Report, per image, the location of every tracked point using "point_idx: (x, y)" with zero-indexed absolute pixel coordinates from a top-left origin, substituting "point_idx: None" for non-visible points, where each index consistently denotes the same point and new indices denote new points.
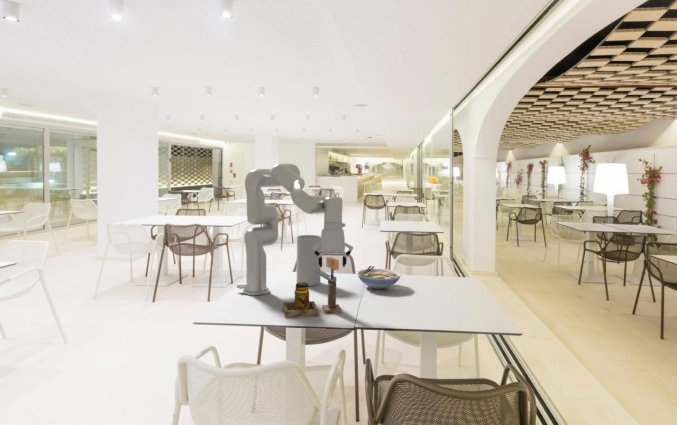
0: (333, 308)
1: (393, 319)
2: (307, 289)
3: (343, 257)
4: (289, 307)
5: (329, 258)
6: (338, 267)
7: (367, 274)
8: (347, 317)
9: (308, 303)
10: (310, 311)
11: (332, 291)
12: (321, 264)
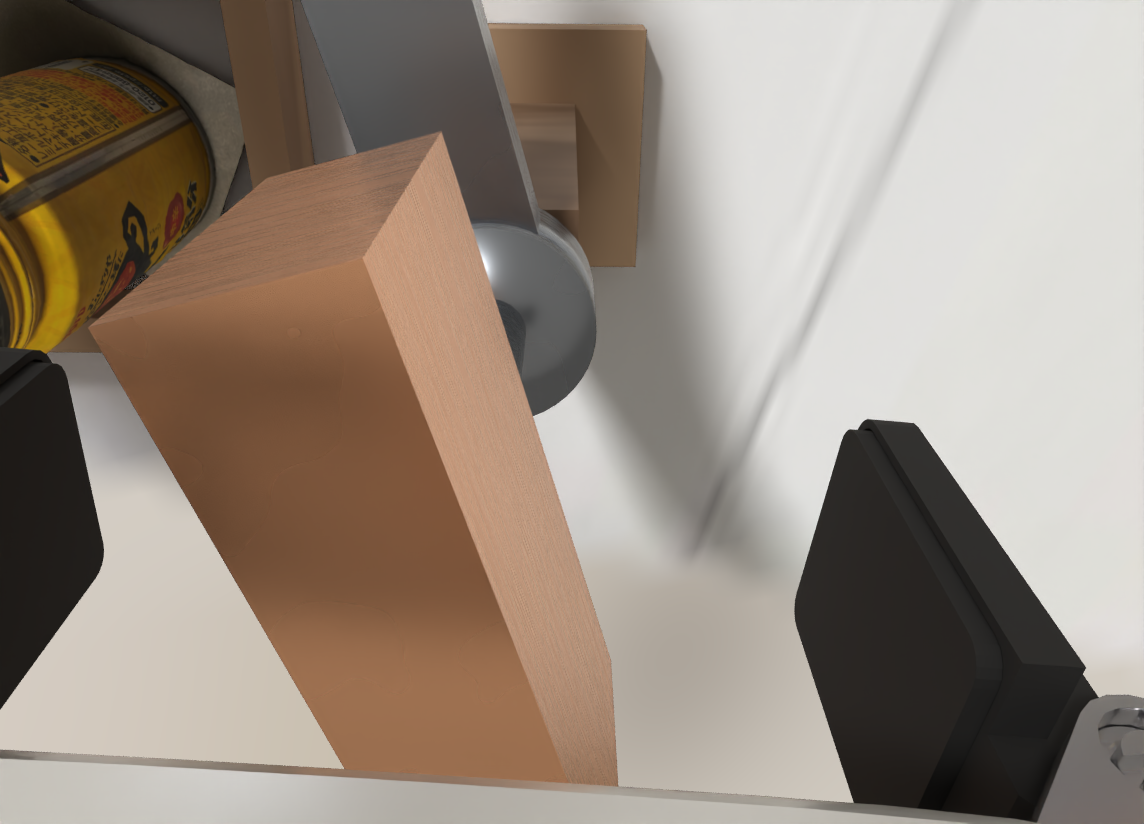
0: None
1: (1099, 516)
2: (34, 327)
3: (938, 808)
4: None
5: (277, 644)
6: (611, 711)
7: None
8: (662, 406)
9: (164, 243)
10: None
11: None
12: (42, 628)
